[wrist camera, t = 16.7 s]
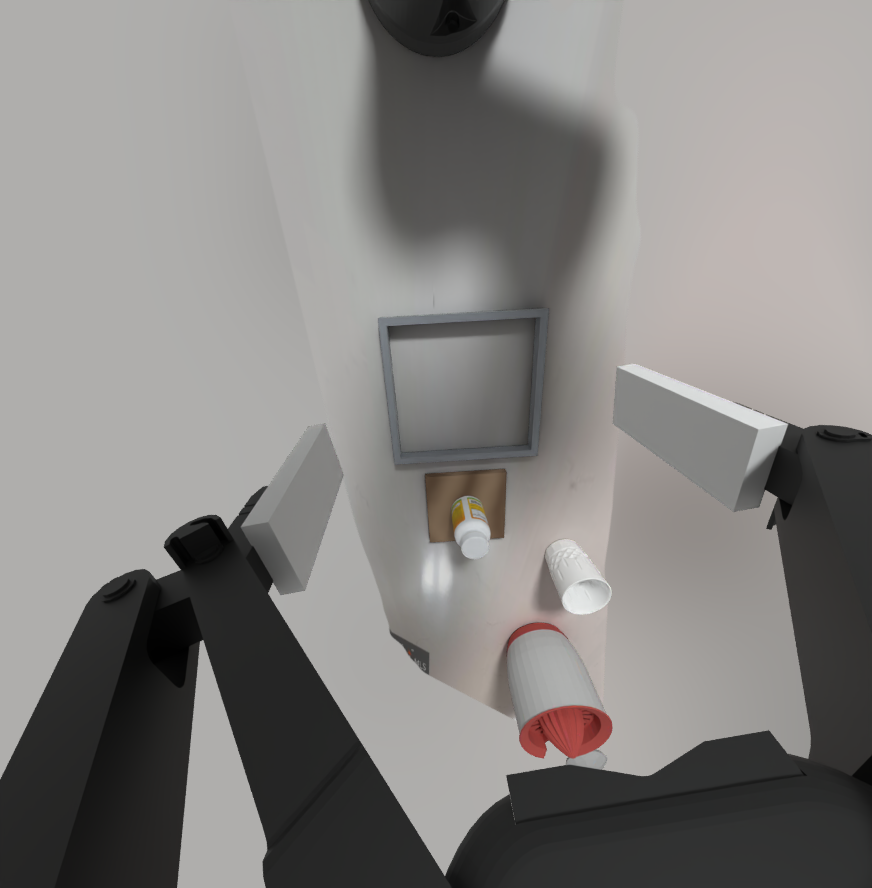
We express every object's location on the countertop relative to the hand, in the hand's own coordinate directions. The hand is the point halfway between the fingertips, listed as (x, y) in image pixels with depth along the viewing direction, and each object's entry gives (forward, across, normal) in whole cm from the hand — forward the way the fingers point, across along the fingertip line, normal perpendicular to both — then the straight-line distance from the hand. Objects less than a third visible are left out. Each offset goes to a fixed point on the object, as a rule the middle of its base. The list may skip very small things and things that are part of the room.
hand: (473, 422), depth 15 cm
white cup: (+30, +16, -44) cm, 56 cm away
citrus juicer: (+29, +10, -67) cm, 74 cm away
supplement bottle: (+30, 0, -29) cm, 42 cm away
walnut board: (+31, 0, -30) cm, 43 cm away
